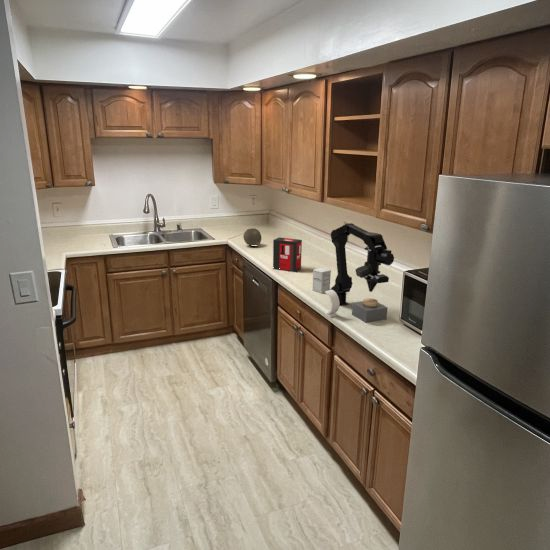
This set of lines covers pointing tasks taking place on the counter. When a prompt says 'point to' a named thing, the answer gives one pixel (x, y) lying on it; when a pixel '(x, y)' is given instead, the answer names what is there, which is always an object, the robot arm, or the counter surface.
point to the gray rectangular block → (369, 312)
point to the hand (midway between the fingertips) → (370, 291)
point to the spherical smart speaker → (252, 236)
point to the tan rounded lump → (370, 302)
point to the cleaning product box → (287, 254)
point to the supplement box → (321, 280)
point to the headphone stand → (332, 303)
